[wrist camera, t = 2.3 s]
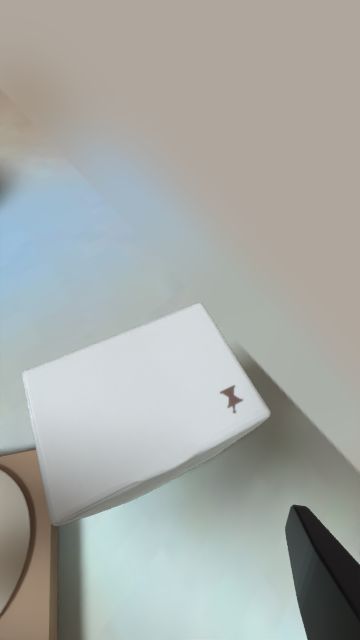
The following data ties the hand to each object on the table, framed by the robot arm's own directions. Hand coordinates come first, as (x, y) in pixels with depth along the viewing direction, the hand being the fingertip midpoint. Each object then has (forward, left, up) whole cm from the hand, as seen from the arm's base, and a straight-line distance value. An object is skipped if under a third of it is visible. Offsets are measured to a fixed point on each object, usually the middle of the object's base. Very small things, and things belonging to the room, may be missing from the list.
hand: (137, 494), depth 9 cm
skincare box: (+2, -1, -10) cm, 10 cm away
